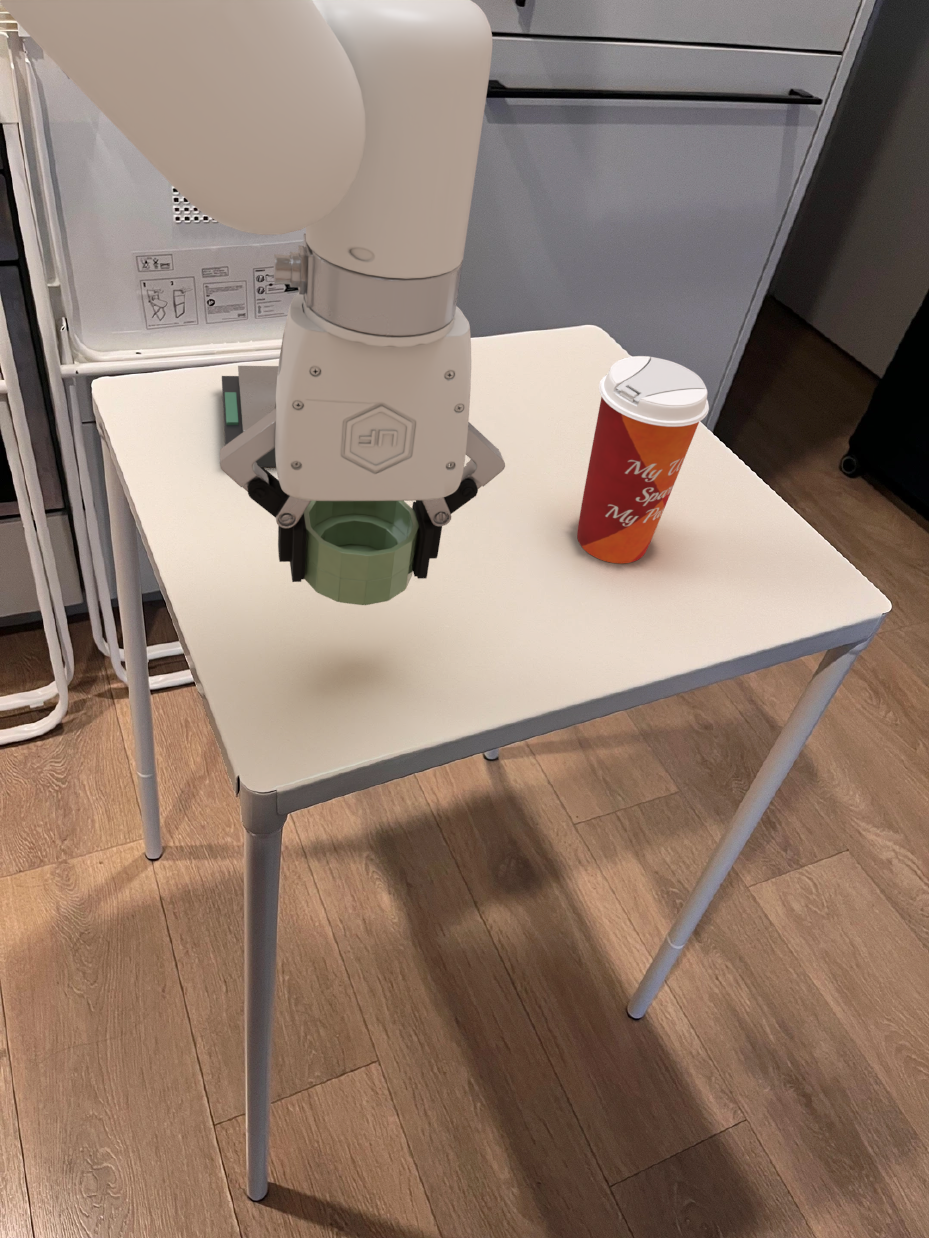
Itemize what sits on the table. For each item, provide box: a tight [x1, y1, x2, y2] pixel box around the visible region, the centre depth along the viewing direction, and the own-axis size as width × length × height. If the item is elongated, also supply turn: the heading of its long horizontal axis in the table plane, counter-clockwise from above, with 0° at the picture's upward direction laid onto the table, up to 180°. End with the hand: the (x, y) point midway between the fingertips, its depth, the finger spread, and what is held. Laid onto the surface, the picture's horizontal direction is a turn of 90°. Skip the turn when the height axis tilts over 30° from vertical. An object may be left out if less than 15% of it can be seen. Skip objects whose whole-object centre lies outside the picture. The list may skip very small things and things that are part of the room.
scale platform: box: [237, 365, 279, 432], centre depth 84 cm, size 11×11×1 cm
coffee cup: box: [576, 355, 710, 564], centre depth 74 cm, size 8×8×15 cm
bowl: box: [304, 501, 419, 606], centre depth 57 cm, size 7×7×4 cm
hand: (357, 564), depth 58 cm, fingers closed on bowl, 6 cm apart
